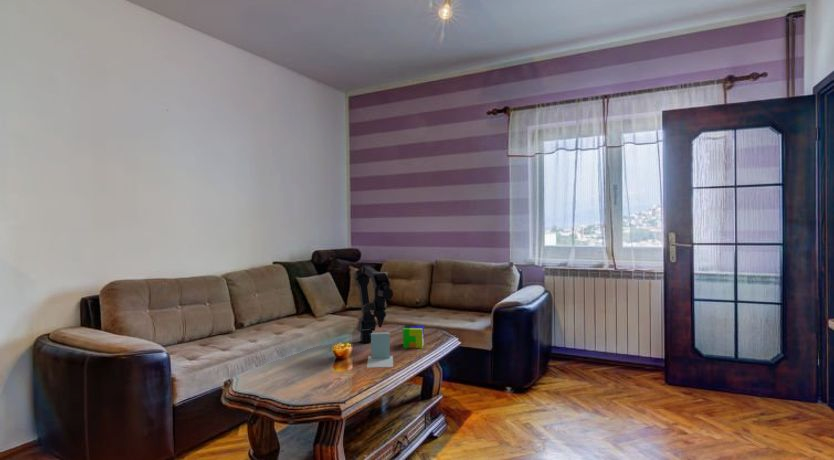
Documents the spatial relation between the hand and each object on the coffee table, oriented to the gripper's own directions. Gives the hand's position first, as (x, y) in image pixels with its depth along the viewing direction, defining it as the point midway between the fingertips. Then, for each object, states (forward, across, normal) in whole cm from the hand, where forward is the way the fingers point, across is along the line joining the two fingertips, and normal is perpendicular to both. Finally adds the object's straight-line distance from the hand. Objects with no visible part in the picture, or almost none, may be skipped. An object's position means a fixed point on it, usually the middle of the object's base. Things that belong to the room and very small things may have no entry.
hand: (379, 327), depth 236 cm
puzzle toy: (+12, -7, +18) cm, 23 cm away
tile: (+12, +15, 0) cm, 19 cm away
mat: (+12, +20, 0) cm, 24 cm away
